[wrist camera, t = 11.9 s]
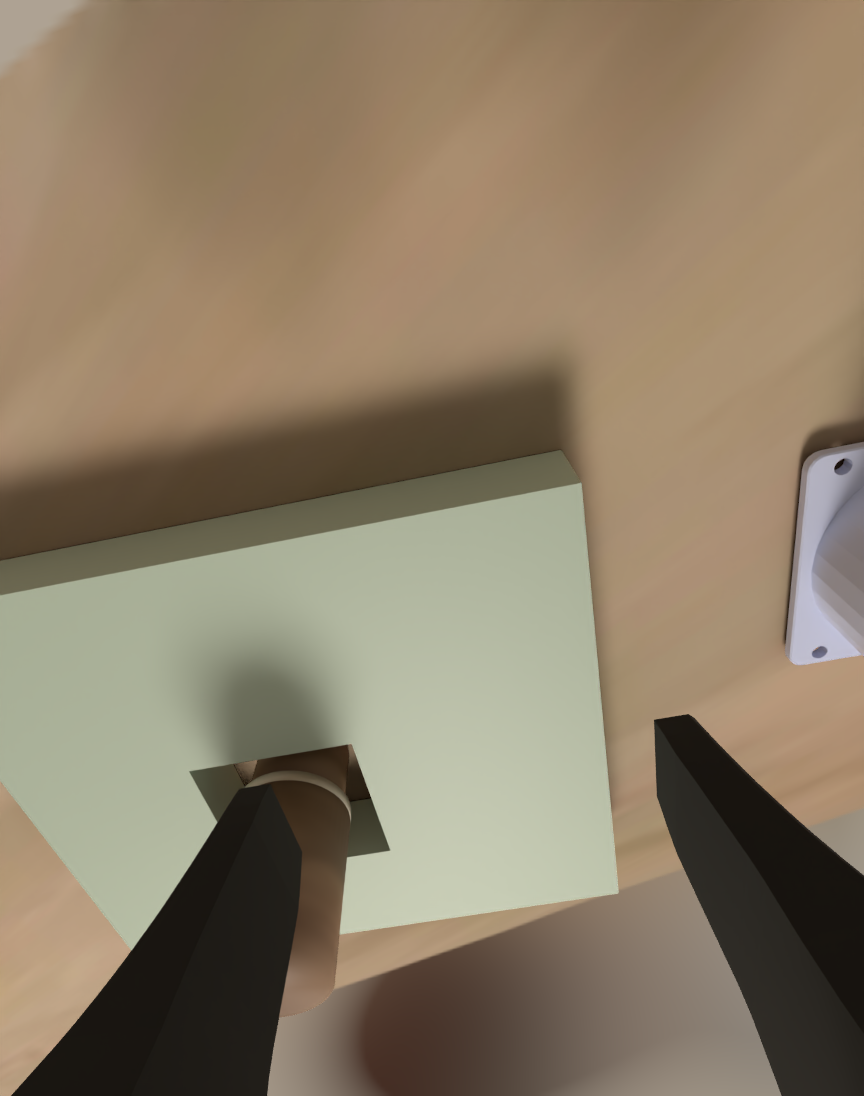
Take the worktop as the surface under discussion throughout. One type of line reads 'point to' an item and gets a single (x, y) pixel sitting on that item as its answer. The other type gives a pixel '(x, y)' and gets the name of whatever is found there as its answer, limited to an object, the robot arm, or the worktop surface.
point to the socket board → (324, 691)
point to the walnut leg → (313, 864)
